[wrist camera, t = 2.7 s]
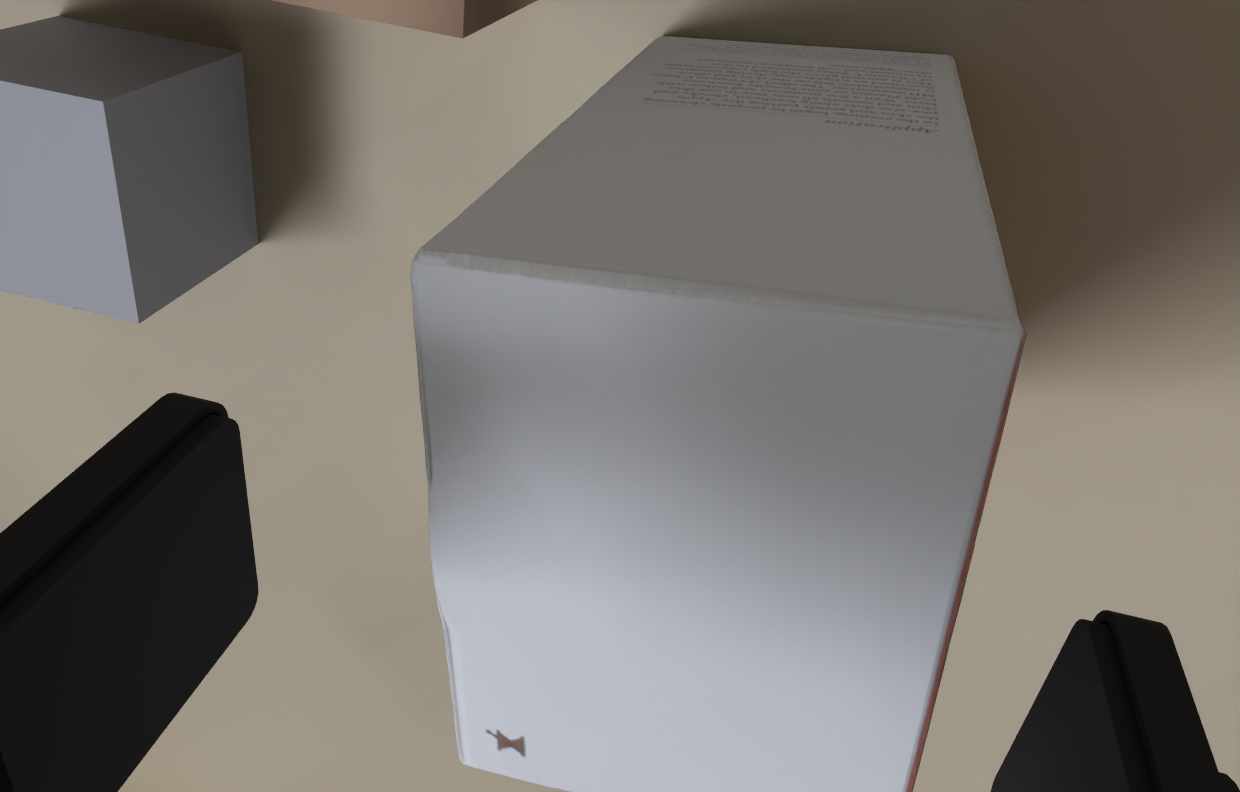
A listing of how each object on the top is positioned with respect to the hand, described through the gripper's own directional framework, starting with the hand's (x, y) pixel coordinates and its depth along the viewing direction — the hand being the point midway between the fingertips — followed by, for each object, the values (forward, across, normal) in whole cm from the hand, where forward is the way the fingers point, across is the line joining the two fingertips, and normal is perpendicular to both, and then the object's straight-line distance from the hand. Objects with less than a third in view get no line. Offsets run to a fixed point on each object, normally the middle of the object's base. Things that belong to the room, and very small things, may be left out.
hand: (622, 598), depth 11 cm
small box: (+14, -1, +1) cm, 14 cm away
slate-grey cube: (+14, +15, +2) cm, 21 cm away
